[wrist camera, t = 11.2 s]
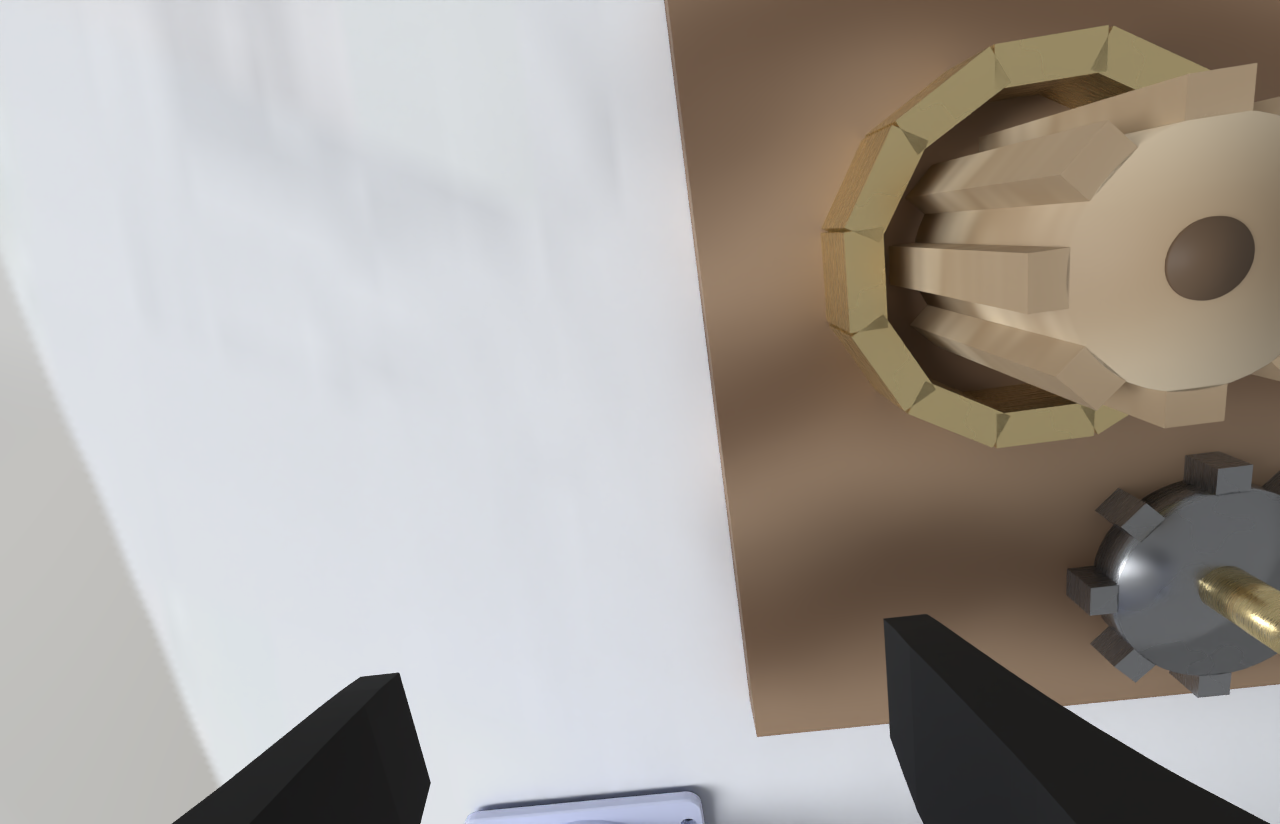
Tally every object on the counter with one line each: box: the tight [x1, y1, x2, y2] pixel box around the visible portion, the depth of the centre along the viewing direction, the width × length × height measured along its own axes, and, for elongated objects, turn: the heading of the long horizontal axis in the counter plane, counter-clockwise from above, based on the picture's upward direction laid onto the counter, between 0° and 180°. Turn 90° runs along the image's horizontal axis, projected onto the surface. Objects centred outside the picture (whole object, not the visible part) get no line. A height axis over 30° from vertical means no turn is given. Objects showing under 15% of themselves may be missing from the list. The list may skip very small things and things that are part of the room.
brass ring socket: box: [820, 25, 1209, 448], centre depth 14 cm, size 8×8×2 cm
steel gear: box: [1066, 451, 1280, 698], centre depth 16 cm, size 6×6×3 cm
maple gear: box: [889, 63, 1280, 428], centre depth 12 cm, size 5×5×6 cm
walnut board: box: [664, 0, 1280, 737], centre depth 17 cm, size 20×16×2 cm
